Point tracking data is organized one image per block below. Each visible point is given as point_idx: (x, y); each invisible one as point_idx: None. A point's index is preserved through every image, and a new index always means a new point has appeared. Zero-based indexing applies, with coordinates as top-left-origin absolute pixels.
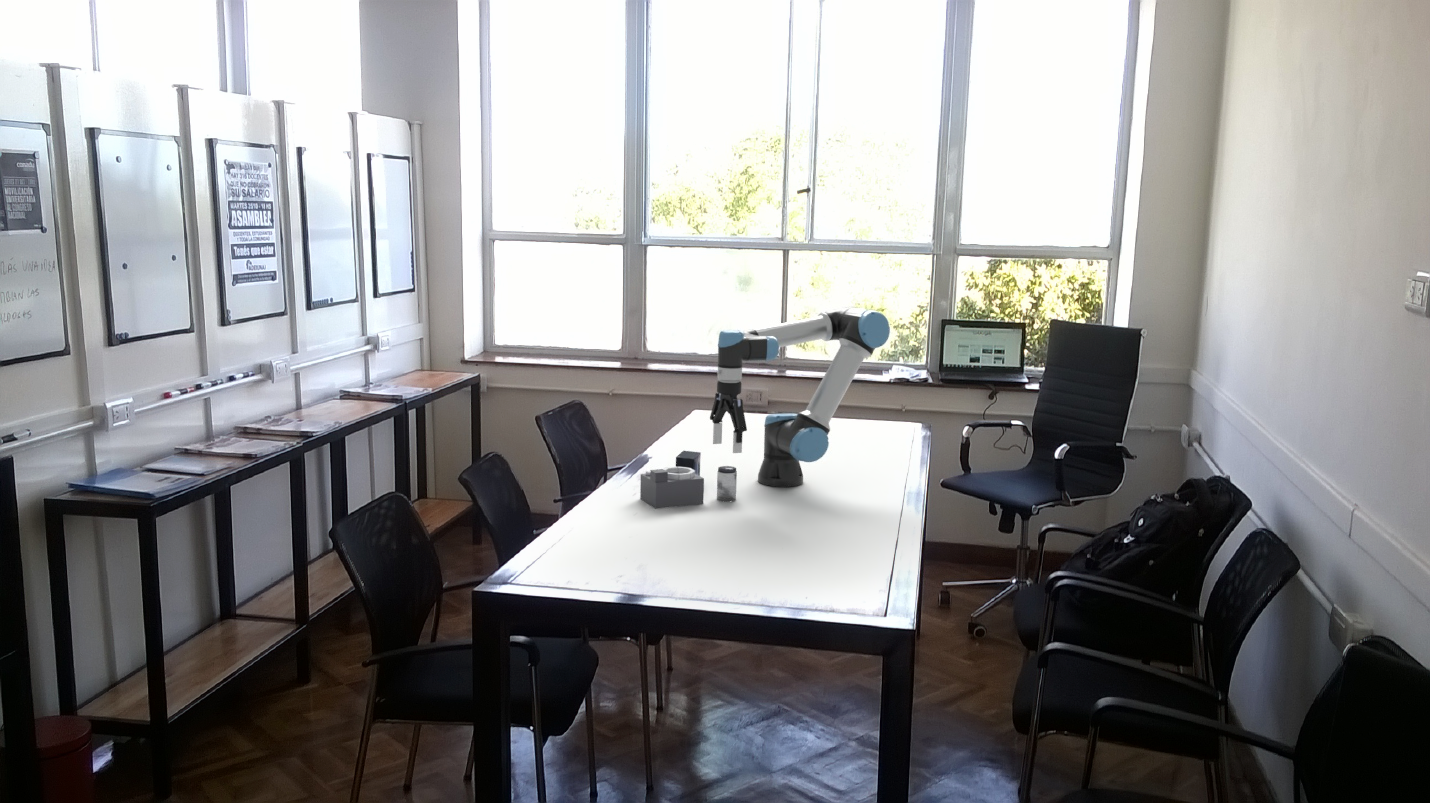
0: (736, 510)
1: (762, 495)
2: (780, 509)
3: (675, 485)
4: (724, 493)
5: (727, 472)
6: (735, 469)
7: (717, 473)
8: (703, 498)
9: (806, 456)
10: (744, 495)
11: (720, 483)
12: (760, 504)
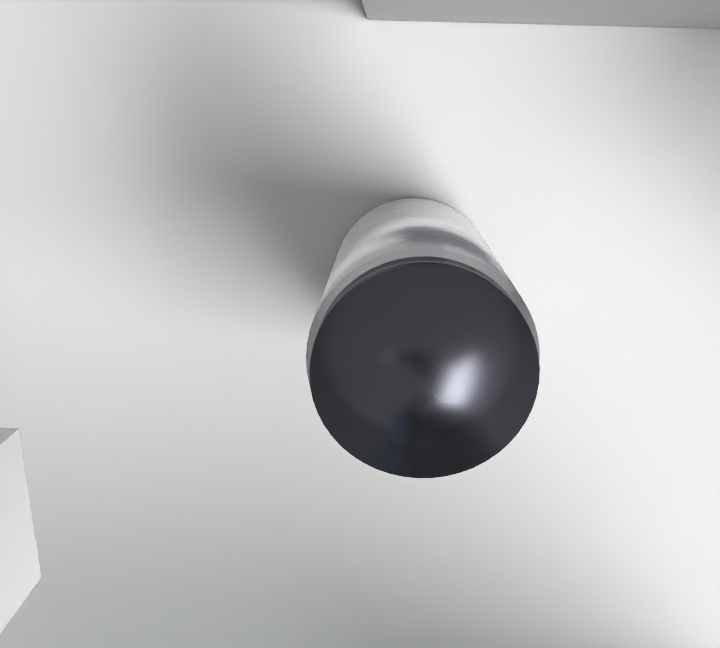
0: (82, 185)
1: (390, 554)
2: None
3: None
4: (349, 237)
5: (322, 318)
6: (335, 437)
7: (470, 252)
8: (366, 14)
9: None
10: None
11: (383, 229)
12: (181, 429)
